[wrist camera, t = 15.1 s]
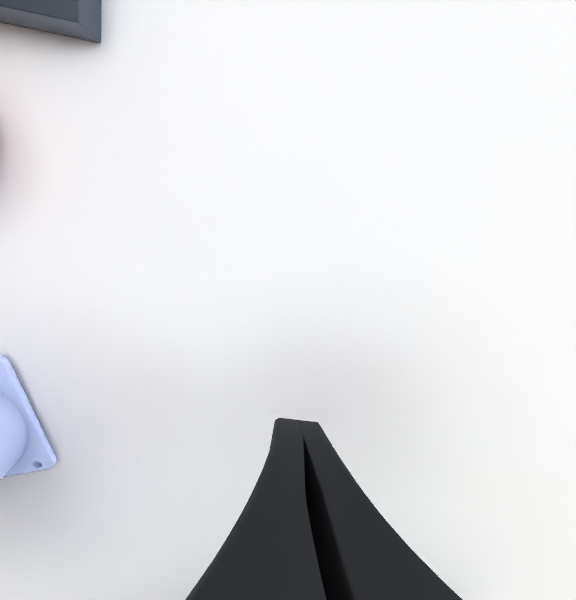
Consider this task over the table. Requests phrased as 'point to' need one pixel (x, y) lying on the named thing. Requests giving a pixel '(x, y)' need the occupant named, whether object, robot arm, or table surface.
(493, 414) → the table surface
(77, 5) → the console
